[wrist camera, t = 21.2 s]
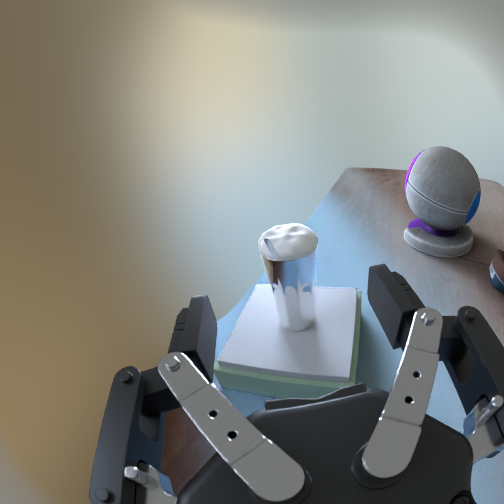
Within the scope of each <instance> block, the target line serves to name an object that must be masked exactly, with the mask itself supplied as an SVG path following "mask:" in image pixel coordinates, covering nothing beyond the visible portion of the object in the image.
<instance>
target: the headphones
mask: <svg viewBox="0 0 504 504" xmlns="http://www.w3.org/2000/svg"><path fill="white" fill-rule="evenodd" d="M448 255H450V254H448ZM452 256H454V255H452ZM456 257H458V256H456ZM460 258H462V257H460ZM463 259H465V258H463ZM466 260H468V259H466ZM469 261H471V260H469ZM473 262H475V261H473ZM477 263H479V262H477ZM480 264H482V263H480ZM484 265H486V264H484ZM488 266H491V267H489V269H490V276H491V281H492V284H493V286H494V287H495V288H496V289H497V290H499V291H501V292H503V293H504V251H502V250H498V251H497V252H496V254H495V255H494V257H493V259H492V262H491V265H488Z"/></svg>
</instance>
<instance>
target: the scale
mask: <svg viewBox="0 0 504 504" xmlns="http://www.w3.org/2000/svg"><path fill="white" fill-rule="evenodd" d="M361 294H362V292H361V291H357V288H338V287H316V307H315V319H314V321H313V323H312V325H311V326H310V327H308V328H306V329H304V330H302V331H289V330H287V329H286V328H284V327H282V326H281V322H280V319H279V316H278V312H277V308H276V304H275V301H274V297H273V293H272V290H271V286H270V285H266V284H257V285H256V287H255V289H254V291H253V292H252V294H251V296H250V298H249V300H248V302H247V304H246V306H245V308H244V310H243V312H242V314H241V316H240V317H239V319H238V321H237V323H236V325H235V327H234V329H233V331H232V333H231V335H230V336H229V338H228V340H227V342H226V344H225V346H224V348H223V350H222V352H221V353H220V355H219V357H218V359H217V361H216V363H215V365H214V369H213V372H214V374H215V376H216V378H217V380H218V382H219V384H220V386H221V387H224V388H229V389H233V390H238V391H243V392H248V393H253V394H258V395H264V396H270V397H276V398H290V397H291V398H313V399H315V398H319V397H322V396H324V395H326V394H329V393H331V392H333V391H335V390H337V389H339V388H342V387H346V386H350V385H354V384H355V377H356V368H357V359H358V348H359V335H360V319H361Z"/></svg>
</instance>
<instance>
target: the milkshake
mask: <svg viewBox="0 0 504 504" xmlns="http://www.w3.org/2000/svg"><path fill="white" fill-rule="evenodd" d="M258 249H259V252H260V255H261V259H262V262H263V265H264V268H265V271H266V274H267V277H268V280H269V283H270V286H271V290H272V293H273V297H274V301H275V304H276V308H277V312H278V316H279V319H280V322H281V326H282V327H284V328H286V329H287V330H289V331H302V330H304V329H306V328H308V327H310V326H311V325H312V323H313V321H314V319H315V307H316V272H317V249H318V238H317V235H316V234H315V233H314V232H313V231H312V230H311V229H309V228H308V227H306V226H304V225H301V224H287V225H276V226H274V227H273V228H271V229H269V230H267V231H265V232H264V233H263V234H262V236H261V237H260V239H259V242H258Z"/></svg>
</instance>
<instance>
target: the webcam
mask: <svg viewBox="0 0 504 504" xmlns="http://www.w3.org/2000/svg"><path fill="white" fill-rule="evenodd" d="M405 192H406V196H407V199H408V203H409V205H410V207H411V209H412V211H413V212H414V214H415V215H416V216H417V217H418V218H419V219H415V220H413V221H412V222H411V223H410V224H409V225H408V228H406V229H405V232H404V239H405V240H406V241H407V242H408V243H409V244H410V245H411V246H412V247H414V248H415V249H417V250H419V251H421V252H424V253H426V254H430V255H433V256H438V257H456V256H462V255H464V254H466V253H468V252H469V251H470V250H471V248H472V244H473V233H472V231H471V229H470V228H469V227H468V225H466V223H468V222H469V221H470V220H471V219H472V217H473V216H474V214H475V213H476V211H477V209H478V206H479V202H480V195H481V189H480V182H479V179H478V175H477V173H476V171H475V169H474V167H473V166H472V164H471V163H470V162H469V161H468V159H467V158H465V157H464V156H463V155H462V154H461V153H459V152H457V151H456V150H453V149H451V148H448V147H441V146H439V147H432V148H429V149H426V150H423V151H422V152H421V153H419V154H418V155H417V156H416V157H415V158H414V160H413V161H412V163H411V165H410V167H409V170H408V172H407V175H406V180H405ZM448 254H450V255H448ZM452 255H454V256H452Z"/></svg>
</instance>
